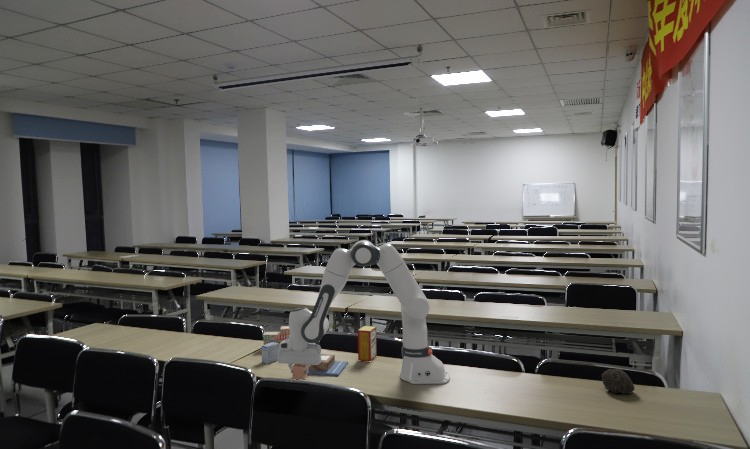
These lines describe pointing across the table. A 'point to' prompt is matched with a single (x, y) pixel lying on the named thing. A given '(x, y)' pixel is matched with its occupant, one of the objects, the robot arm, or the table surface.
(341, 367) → the board
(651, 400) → the table surface
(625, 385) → the rock
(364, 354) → the baking soda box
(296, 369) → the snap block
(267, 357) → the medicine box
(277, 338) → the stack of blocks
